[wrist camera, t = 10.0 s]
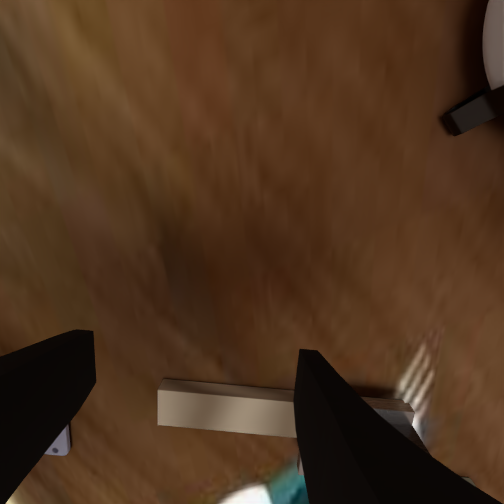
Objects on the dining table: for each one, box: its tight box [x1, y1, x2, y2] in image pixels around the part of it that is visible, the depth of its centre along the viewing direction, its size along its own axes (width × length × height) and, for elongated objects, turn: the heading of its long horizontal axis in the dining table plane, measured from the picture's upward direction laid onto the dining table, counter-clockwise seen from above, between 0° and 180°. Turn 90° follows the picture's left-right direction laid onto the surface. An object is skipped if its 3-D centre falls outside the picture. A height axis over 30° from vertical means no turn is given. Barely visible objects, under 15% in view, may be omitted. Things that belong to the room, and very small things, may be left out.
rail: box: [158, 379, 404, 438], centre depth 21 cm, size 18×3×1 cm, turn 86°
